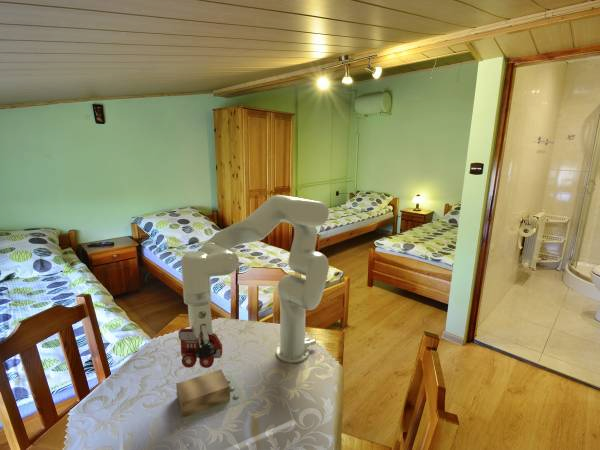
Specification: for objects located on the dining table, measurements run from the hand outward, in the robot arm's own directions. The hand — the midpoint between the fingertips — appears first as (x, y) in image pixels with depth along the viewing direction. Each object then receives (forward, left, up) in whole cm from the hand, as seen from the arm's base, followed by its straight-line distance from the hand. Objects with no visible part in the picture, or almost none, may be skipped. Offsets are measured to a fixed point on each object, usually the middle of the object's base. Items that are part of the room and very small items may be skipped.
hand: (200, 348), depth 96 cm
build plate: (-2, 0, -18) cm, 19 cm away
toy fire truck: (0, 0, -4) cm, 4 cm away
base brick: (0, 0, -17) cm, 17 cm away
